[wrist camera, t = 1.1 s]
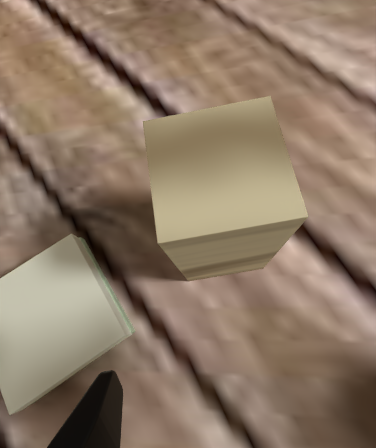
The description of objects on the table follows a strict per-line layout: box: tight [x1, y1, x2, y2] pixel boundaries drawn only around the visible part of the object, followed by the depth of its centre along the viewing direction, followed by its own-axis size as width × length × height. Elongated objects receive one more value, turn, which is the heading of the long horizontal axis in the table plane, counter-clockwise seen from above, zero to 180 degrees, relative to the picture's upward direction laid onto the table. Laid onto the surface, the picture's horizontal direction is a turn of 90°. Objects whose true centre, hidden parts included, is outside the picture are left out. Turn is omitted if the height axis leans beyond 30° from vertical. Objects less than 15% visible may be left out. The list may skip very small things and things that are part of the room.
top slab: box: [0, 234, 132, 416], centre depth 21 cm, size 9×9×2 cm
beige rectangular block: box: [143, 96, 308, 281], centre depth 18 cm, size 6×6×12 cm
